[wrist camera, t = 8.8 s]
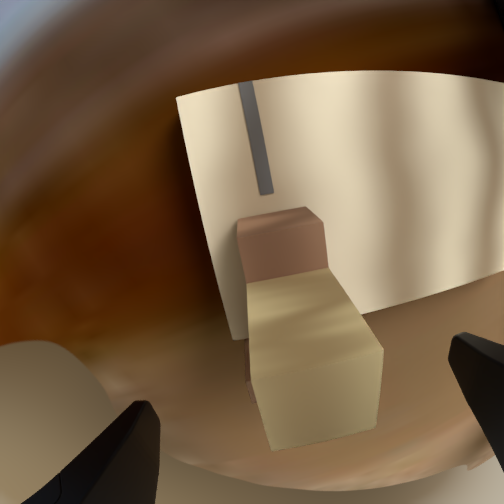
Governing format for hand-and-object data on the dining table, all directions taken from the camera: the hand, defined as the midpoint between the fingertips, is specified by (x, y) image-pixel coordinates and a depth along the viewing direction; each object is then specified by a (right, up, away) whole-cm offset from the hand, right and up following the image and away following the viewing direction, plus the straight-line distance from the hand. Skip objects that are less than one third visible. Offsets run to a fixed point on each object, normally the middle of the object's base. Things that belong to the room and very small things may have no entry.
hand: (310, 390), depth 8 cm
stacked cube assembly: (0, +2, +9) cm, 9 cm away
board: (+6, +7, +8) cm, 12 cm away
